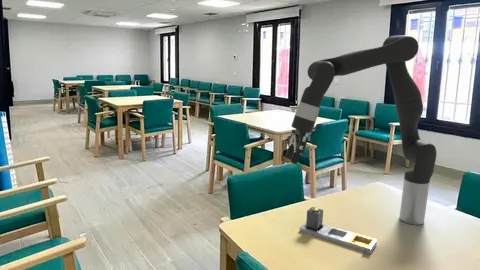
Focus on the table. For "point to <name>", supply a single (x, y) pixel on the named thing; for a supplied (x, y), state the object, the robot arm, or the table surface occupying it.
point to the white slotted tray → (343, 237)
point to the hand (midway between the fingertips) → (290, 160)
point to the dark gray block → (314, 219)
